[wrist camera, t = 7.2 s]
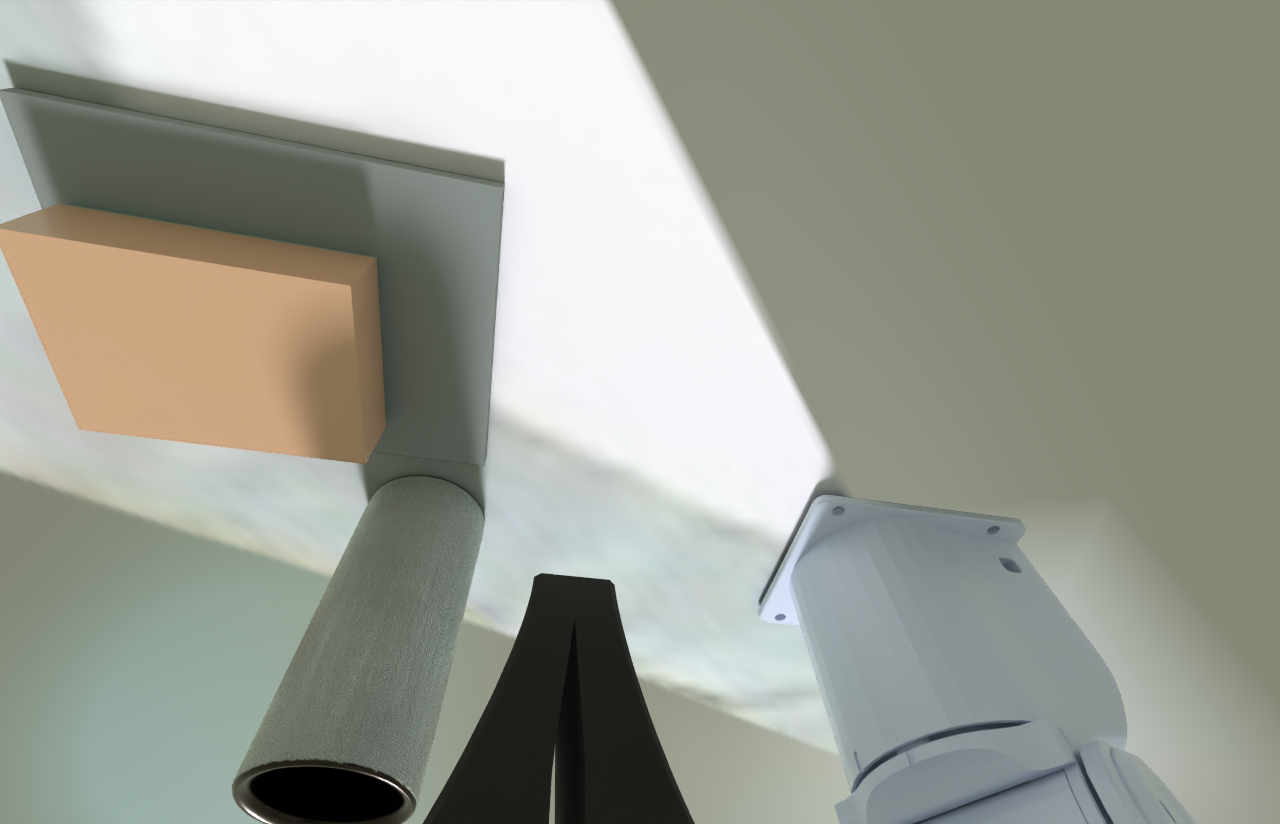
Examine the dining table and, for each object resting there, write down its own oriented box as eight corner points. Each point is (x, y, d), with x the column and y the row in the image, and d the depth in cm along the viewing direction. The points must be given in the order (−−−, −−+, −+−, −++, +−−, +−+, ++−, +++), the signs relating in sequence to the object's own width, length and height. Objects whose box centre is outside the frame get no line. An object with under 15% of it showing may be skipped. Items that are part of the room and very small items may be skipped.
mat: (504, 183, 16) (501, 187, 16) (486, 457, 22) (483, 465, 21) (14, 87, 14) (-3, 90, 14) (131, 412, 20) (121, 420, 20)
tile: (350, 286, 15) (-9, 227, 14) (366, 464, 18) (79, 429, 17) (380, 254, 17) (66, 200, 15) (388, 420, 20) (132, 386, 19)
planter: (508, 527, 24) (452, 811, 16) (424, 567, 25) (330, 851, 17) (432, 455, 22) (319, 744, 13) (343, 504, 23) (187, 796, 14)
